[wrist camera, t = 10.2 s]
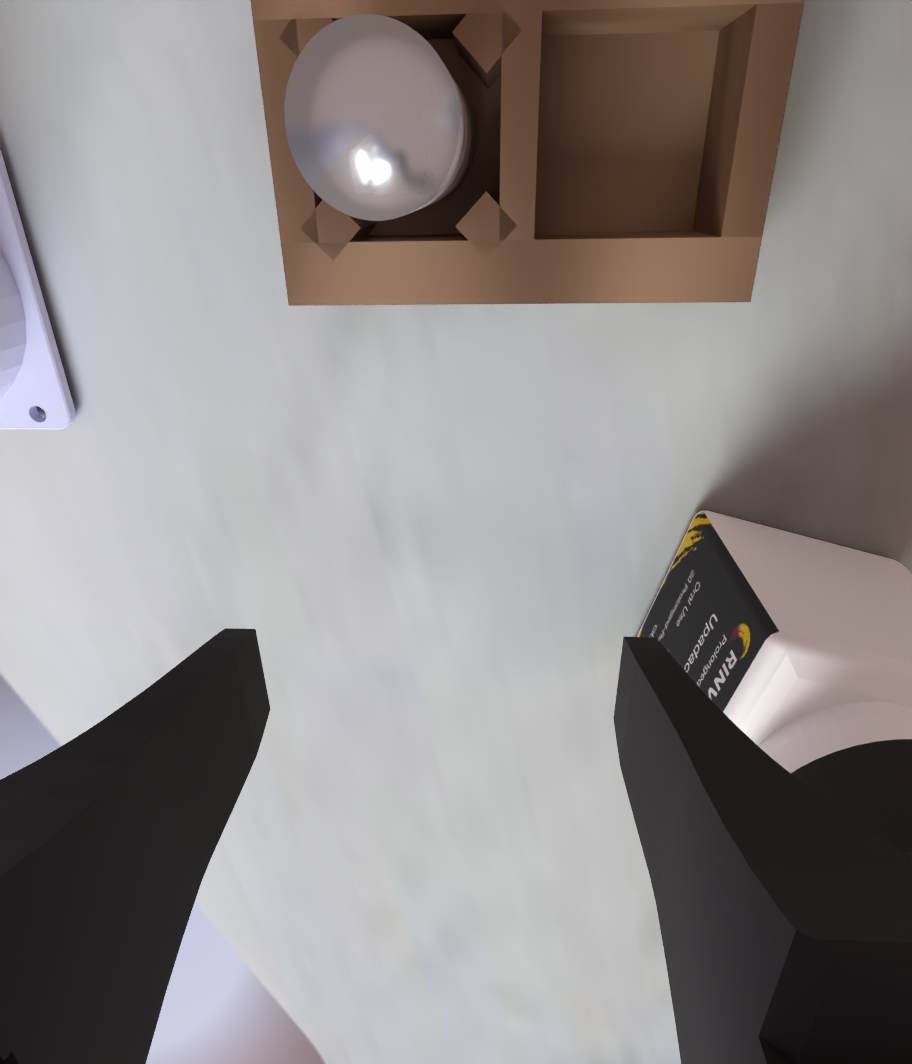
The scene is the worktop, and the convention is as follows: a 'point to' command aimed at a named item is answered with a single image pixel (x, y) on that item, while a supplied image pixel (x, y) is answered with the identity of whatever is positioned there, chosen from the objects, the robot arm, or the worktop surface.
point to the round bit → (377, 119)
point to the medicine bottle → (801, 657)
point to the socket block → (558, 154)
